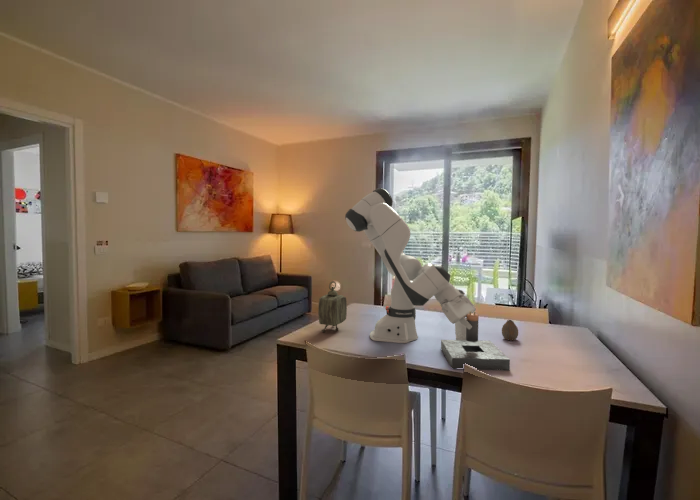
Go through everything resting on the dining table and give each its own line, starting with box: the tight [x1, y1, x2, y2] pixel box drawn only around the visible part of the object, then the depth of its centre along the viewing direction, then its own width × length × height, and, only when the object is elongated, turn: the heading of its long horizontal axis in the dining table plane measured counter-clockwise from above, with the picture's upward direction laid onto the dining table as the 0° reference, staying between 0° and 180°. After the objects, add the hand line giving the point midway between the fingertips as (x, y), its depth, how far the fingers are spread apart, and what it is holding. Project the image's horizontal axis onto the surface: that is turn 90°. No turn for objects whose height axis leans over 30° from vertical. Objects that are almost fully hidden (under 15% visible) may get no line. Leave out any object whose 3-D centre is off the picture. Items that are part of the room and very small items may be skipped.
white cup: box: [454, 321, 466, 340], centre depth 145 cm, size 8×8×10 cm
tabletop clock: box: [317, 280, 348, 333], centre depth 162 cm, size 14×9×25 cm, turn 155°
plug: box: [465, 310, 480, 342], centre depth 124 cm, size 4×4×11 cm
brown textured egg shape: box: [501, 319, 519, 342], centre depth 148 cm, size 7×7×9 cm
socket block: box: [440, 339, 511, 372], centre depth 125 cm, size 20×20×4 cm
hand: (473, 326), depth 124 cm, fingers closed on plug, 4 cm apart
